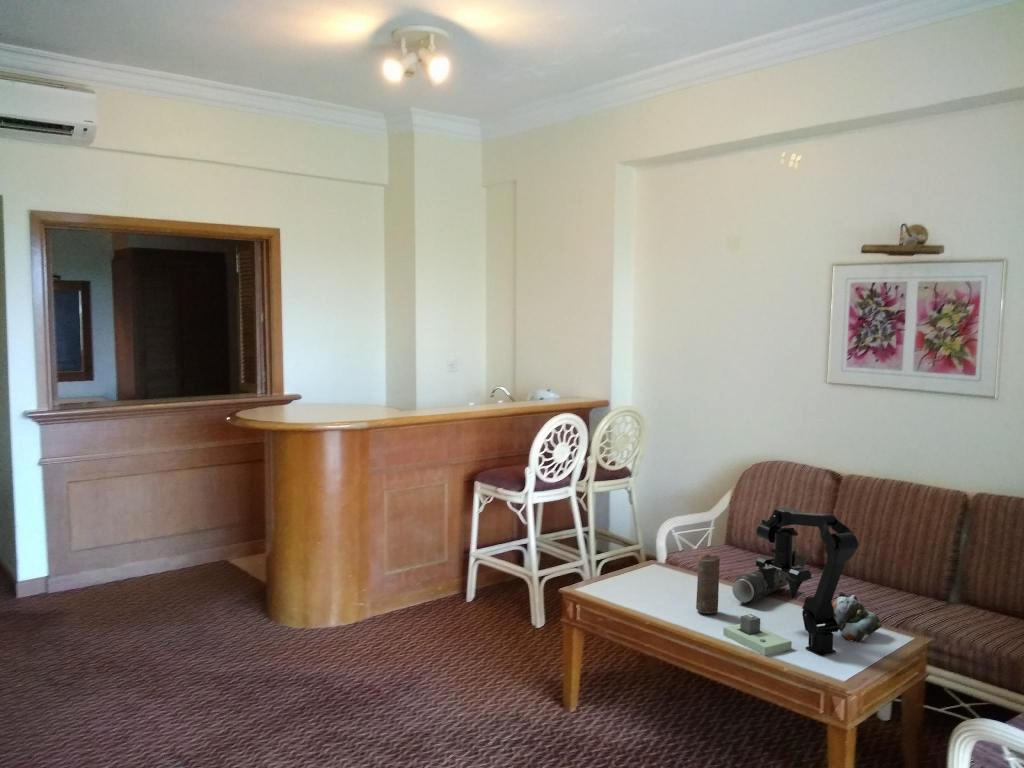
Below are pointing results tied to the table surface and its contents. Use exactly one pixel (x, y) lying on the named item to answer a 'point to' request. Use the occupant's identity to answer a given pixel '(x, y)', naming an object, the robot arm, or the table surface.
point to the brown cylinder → (708, 583)
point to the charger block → (750, 624)
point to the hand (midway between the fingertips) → (782, 594)
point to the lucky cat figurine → (854, 618)
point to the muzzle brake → (757, 585)
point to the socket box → (758, 640)
